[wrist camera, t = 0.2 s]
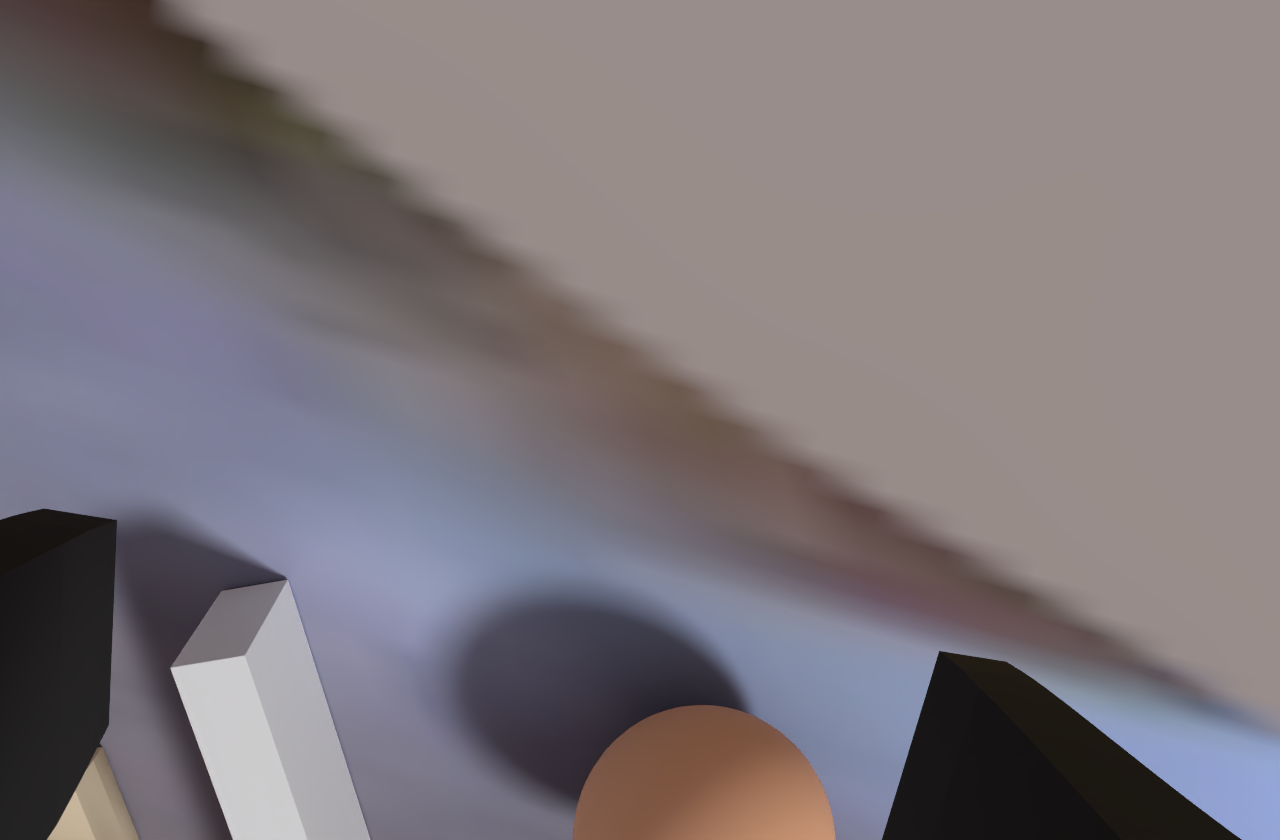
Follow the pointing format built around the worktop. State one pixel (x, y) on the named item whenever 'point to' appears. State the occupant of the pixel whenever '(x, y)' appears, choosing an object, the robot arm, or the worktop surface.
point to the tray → (96, 807)
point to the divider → (266, 721)
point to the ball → (703, 782)
